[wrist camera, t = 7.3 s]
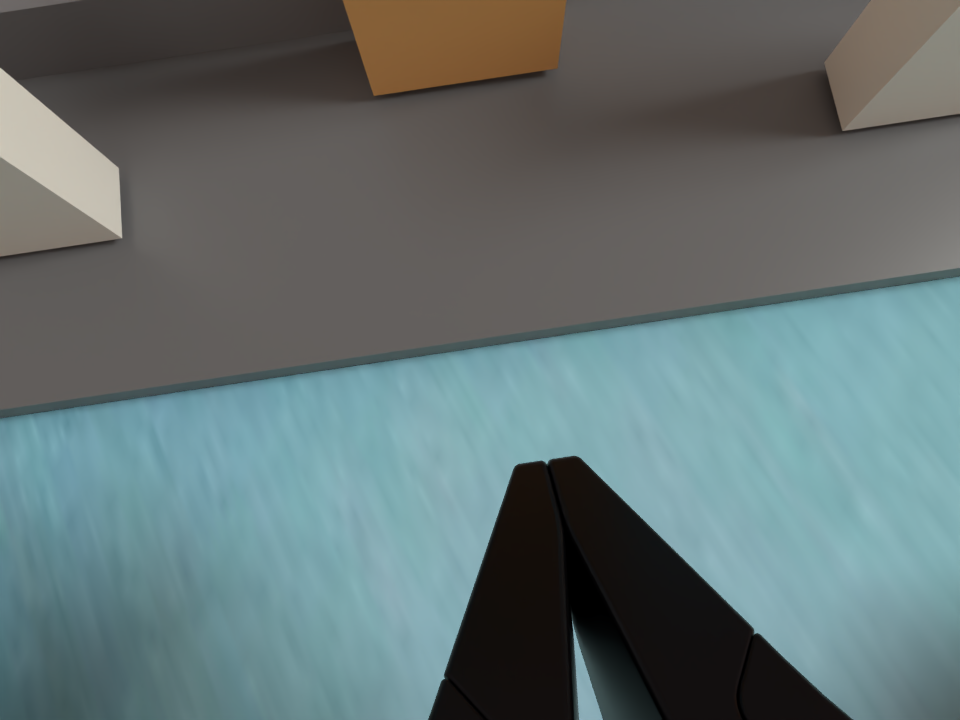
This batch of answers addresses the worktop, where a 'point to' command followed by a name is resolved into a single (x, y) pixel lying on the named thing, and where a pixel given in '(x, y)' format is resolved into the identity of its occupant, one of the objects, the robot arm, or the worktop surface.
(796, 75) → the long grey base rail
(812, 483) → the worktop surface
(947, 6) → the key
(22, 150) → the key
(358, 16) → the key middle
